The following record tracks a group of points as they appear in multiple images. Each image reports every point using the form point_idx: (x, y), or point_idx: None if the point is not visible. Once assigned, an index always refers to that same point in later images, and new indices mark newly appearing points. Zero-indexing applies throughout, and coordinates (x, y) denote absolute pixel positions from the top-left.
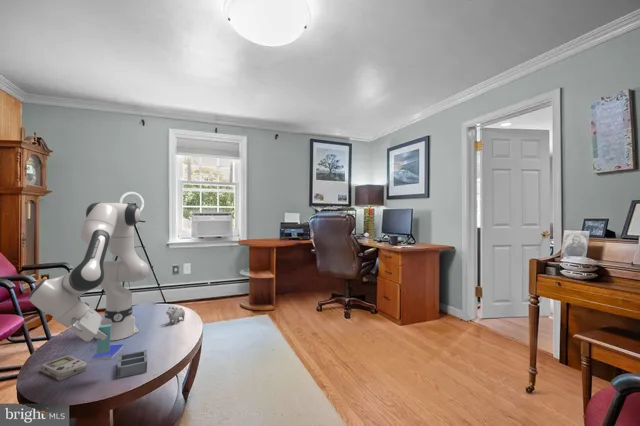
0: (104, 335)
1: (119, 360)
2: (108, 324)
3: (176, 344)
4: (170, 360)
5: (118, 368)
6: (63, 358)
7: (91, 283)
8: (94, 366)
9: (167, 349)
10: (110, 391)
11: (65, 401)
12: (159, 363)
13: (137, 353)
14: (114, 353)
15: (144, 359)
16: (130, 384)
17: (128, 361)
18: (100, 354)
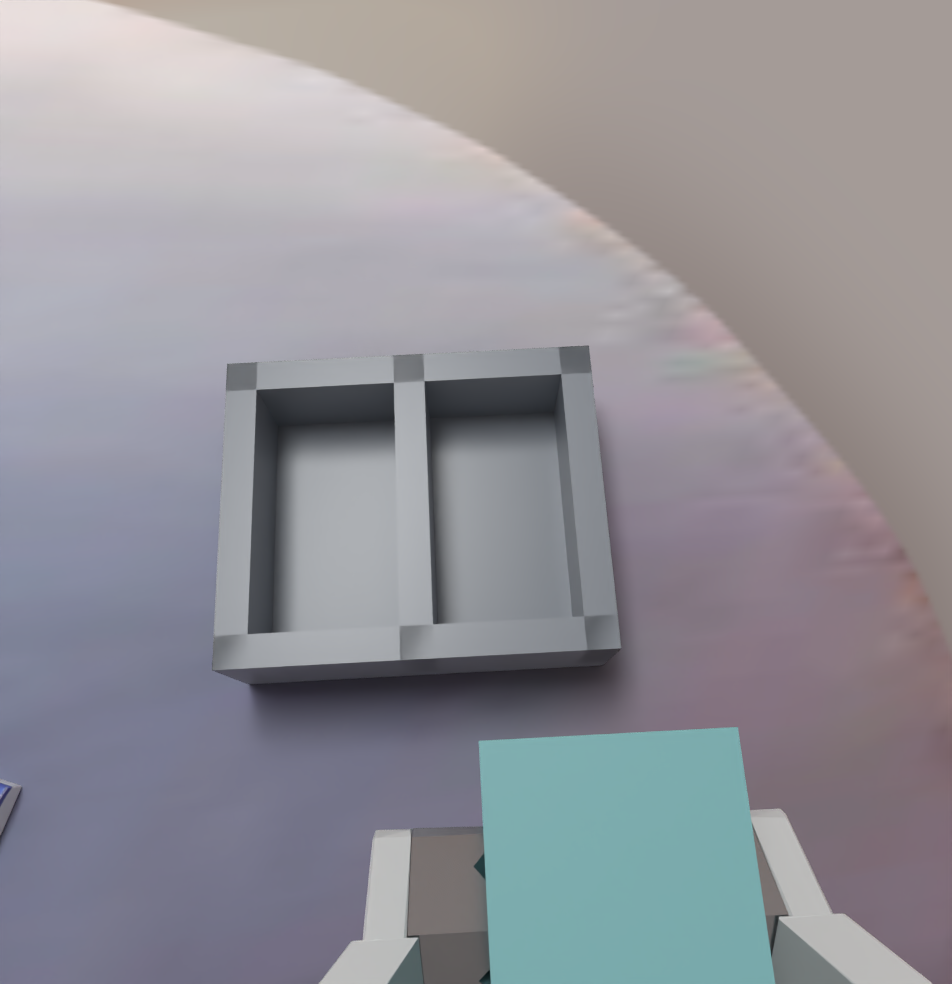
0: (808, 880)
1: (394, 648)
2: (497, 837)
3: (38, 141)
4: (413, 203)
5: (618, 638)
6: None
7: None
8: (148, 969)
9: (120, 221)
10: (864, 696)
11: None
12: (433, 293)
13: (258, 460)
14: None
15: (501, 375)
16: (784, 526)
17: (431, 548)
18: None
